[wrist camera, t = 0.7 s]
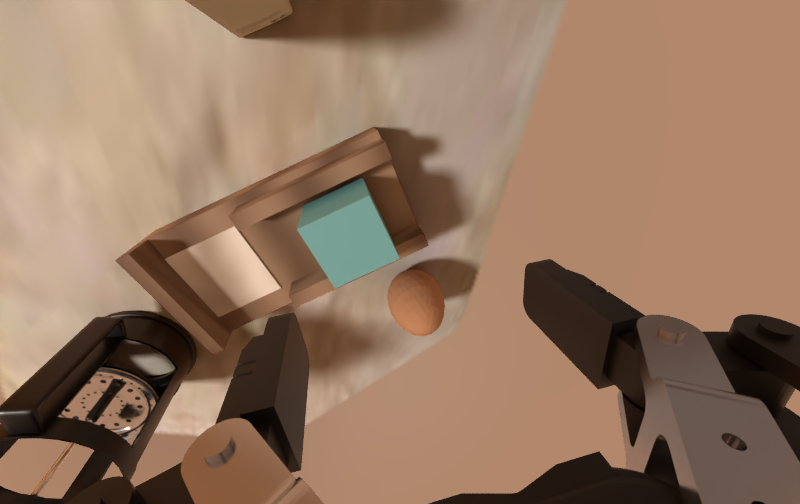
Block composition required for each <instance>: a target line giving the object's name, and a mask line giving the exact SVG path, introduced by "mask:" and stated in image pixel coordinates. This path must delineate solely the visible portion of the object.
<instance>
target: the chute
mask: <svg viewBox="0 0 800 504" xmlns="http://www.w3.org/2000/svg"><path fill="white" fill-rule="evenodd" d="M390 159H392V156H391V154H390V152H389V149H388V147H387V144H386V142H385V141H384V140H382V139H381V137H380V134H379V132H378V130H376V129H375V128H374V127H372V128H370V129H368V130H366V131H364V132H362V133H360V134H358V135H356V136H353V137H351V138H349V139H347V140H345V141H343V142H341V143H339V144H337V145H335V146H332V147H330V148H328V149H326V150H324V151H322V152H320V153H318V154H316V155H313V156H311V157H309V158H307V159H305V160H303V161H301V162H299V163H297V164H294V165H292V166H290V167H288V168H286V169H284V170H282V171H280V172H278V173H275V174H273V175H271V176H269V177H267V178H265V179H263V180H261V181H259V182H256V183H254V184H252V185H250V186H248V187H246V188H244V189H242V190H240V191H237V192H235V193H233V194H231V195H229V196H227V197H225V198H223V199H221V200H218V201H216V202H214V203H212V204H210V205H208V206H206V207H204V208H202V209H199V210H197V211H195V212H193V213H191V214H189V215H187V216H185V217H183V218H180V219H178V220H176V221H174V222H172V223H170V224H168V225H166V226H164V227H161V228H159V229H157V230H155V231H154V232H153V233H151V234H150V235H149V236H147V237H146V238H145V239H143V240H142V241H141V242H139V243H138V244H137V245H135V246H134V247H133V248H131V249H130V250H129V251H127V252H126V253H125V254H123V255H122V256H121V257H119V258H118V259H117V260H115V261H116V262H117V263H118V264H119V265H120V266H121V267H122V268H123V269H125V270H126V271H127V272H128V273H129V274H130V275H131V276H132V277H133V278H134V279H135V280H136V281H137V282H138V283H139V284H140V285H141V286H142V287H143V288H144V289H145V290H146V291H147V292H148V293H149V294H150V295H151V296H152V297H153V298H154V299H156V300H157V301H158V302H159V303H160V304H161V305H162V306H163V307H164V308H165V309H166V310H167V311H168V312H169V313H170V314H171V315H172V316H173V317H174V318H175V319H176V320H177V321H178V322H179V323H180V324H181V325H182V326H183V327H184V328H185V329H186V330H188V331H189V332H190V333H191V334H192V335H193V336H194V337H195V338H196V339H197V340H198V341H199V342H200V343H201V344H202V345H203V346H204V347H205V348H206V349H207V350H208V351H209V352H210V353H211V354H212V355H214V354H216V353H218V352H221V351H223V350H224V348H225V346H226V344H227V341H228V339H229V337H230V334H231V332H232V330H234V329H236V328H238V327H240V326H242V325H245V324H247V323H249V322H251V321H253V320H255V319H257V318H260V317H262V316H264V315H266V314H268V313H270V312H272V311H275V310H277V309H279V308H281V307H283V306H285V305H287V304H290V303H292V302H293V303H294V305H295V306H296V307H298V306H300V305H302V304H304V303H306V302H309V301H311V300H313V299H315V298H317V297H319V296H322V295H324V294H326V293H328V292H330V291H332V290H334V289H337V288H339V287H337V288H334V286H333V285H332V283H331V282H330V280H329V279H328V277H327V275H326V274H325V272H324V271H323V269H322V268H321V266H320V265H319V263H318V261H317V260H316V258H315V257H314V255H313V254H312V252H311V251H310V249H309V247H308V246H307V244H306V243H305V241H304V240H303V238H302V237H301V235H300V233H299V232H298V230H297V227H298V223H299V220H300V216H301V212H302V209H303V205H305V204H307V203H309V202H311V201H313V200H315V199H318V198H320V197H322V196H324V195H326V194H328V193H330V192H332V191H335V190H337V189H339V188H341V187H343V186H345V185H347V184H349V183H352V182H354V181H356V180H358V179H360V178H362V177H363V179H364V181H365V183H366V185H367V188H368V190H369V192H370V194H371V196H372V198H373V200H374V202H375V204H376V206H377V208H378V210H379V213H380V215H381V217H382V219H383V221H384V223H385V225H386V227H387V229H388V231H389V234H390V236H391V239H392V241H393V243H394V246H395V248H396V251H397V253H398V255H399V258H400V259H401V258H403V257H405V256H407V255H409V254H412V253H414V252H416V251H418V250H420V249H422V248H424V247H427V246H429V245H428V243H427V240H426V238H425V236H424V233H423V232H422V230H421V229H420V227H419V226H418V224H417V222H416V220H415V217H414V215H413V213H412V210H411V208H410V206H409V203H408V201H407V198H406V196H405V194H404V191H403V189H402V187H401V184H400V182H399V179H398V177H397V175H396V172H395V170H394V168H393V165H392V163H391V160H390ZM398 260H399V259H398ZM395 261H397V260H395ZM393 262H394V261H393ZM391 263H392V262H391ZM389 264H390V263H389ZM387 265H388V264H387ZM385 266H386V265H385ZM383 267H384V266H383ZM380 268H382V267H380ZM378 269H379V268H378ZM376 270H377V269H376ZM374 271H375V270H374ZM372 272H373V271H372ZM370 273H371V272H370ZM368 274H369V273H368ZM365 275H367V274H365ZM363 276H364V275H363ZM361 277H362V276H361ZM359 278H360V277H359ZM357 279H358V278H357ZM355 280H356V279H355ZM353 281H354V280H353ZM350 282H352V281H350ZM348 283H349V282H348ZM346 284H347V283H346ZM344 285H345V284H344ZM342 286H343V285H342ZM340 287H341V286H340Z"/></svg>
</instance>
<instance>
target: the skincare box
mask: <svg viewBox="0 0 800 504" xmlns="http://www.w3.org/2000/svg"><path fill="white" fill-rule="evenodd" d="M185 1H187V2H188V3H190V4H191V5H193V6H194V7H196V8H197V9H199V10H200V11H202V12H203V13H204V14H206V15H207V16H209V17H210V18H212V19H213V20H214V21H216V22H217V23H219V24H220V25H222V26H223V27H225V28H226V29H228V30H229V31H230V32H232V33H233V34H235V35H236V36H238V37H243V36H245V35H248V34H250V33H253V32H255V31H257V30H260V29H262V28H264V27H266V26H269V25H271V24H273V23H275V22H277V21H279V20H281V19H283V18H285V17H287V16H289V15H290V14H292V12H293V10H292V7H291V5H290V2H289V0H185Z"/></svg>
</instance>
